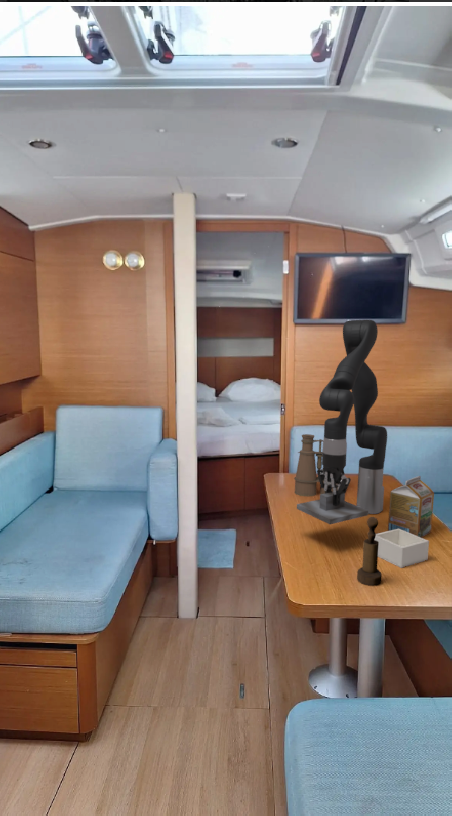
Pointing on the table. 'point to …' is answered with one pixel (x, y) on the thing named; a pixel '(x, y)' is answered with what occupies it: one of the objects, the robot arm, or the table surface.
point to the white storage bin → (402, 547)
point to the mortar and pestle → (370, 557)
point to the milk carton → (411, 508)
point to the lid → (332, 509)
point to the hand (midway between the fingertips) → (332, 503)
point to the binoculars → (308, 468)
